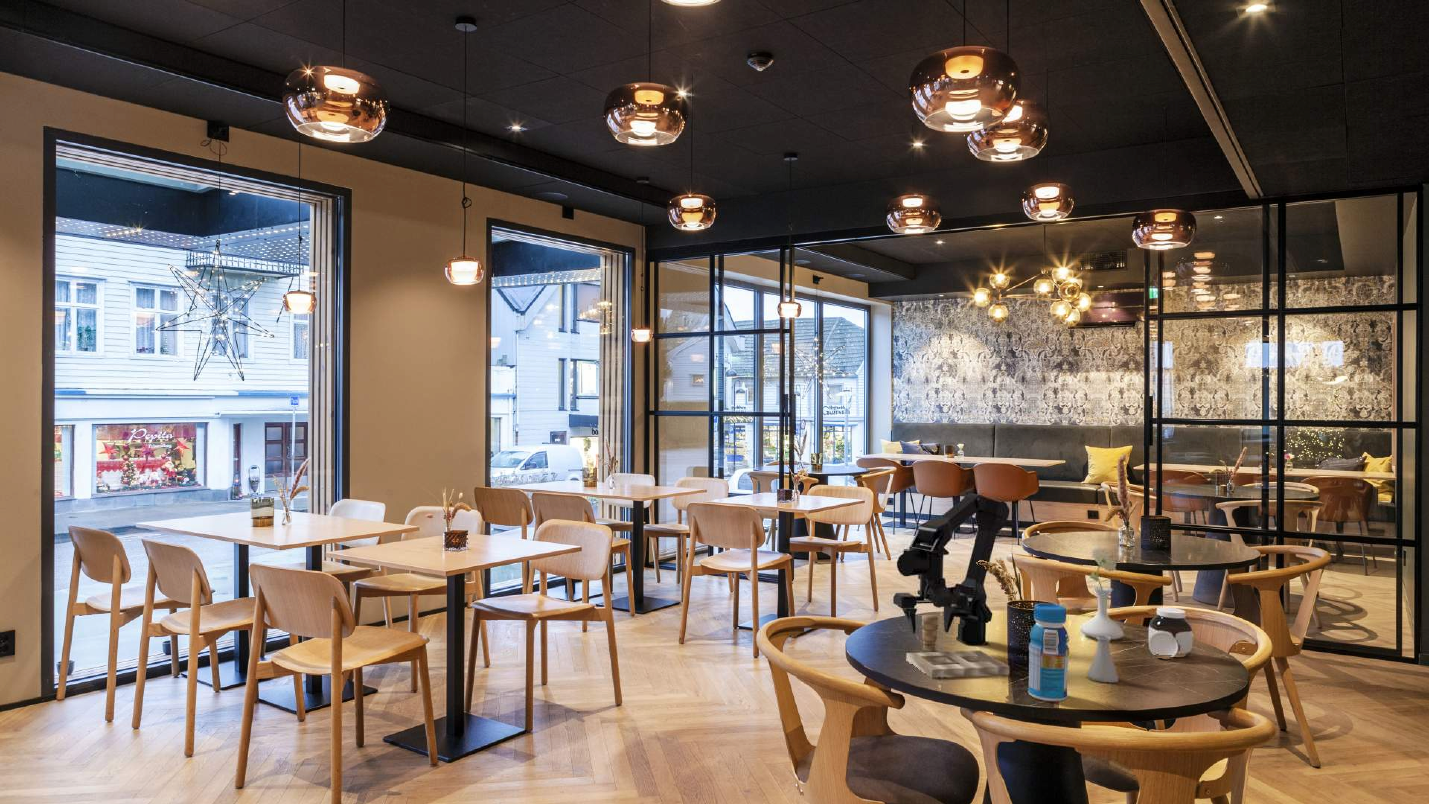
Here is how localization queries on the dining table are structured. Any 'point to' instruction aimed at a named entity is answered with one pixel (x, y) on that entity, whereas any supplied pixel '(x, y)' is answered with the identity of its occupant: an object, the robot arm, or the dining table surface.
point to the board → (957, 664)
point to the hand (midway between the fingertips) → (929, 632)
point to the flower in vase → (1102, 602)
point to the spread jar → (1170, 632)
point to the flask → (1103, 663)
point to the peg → (929, 632)
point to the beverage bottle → (1048, 653)
